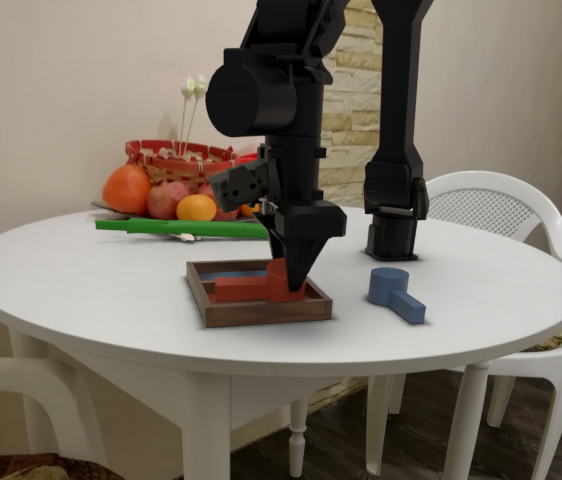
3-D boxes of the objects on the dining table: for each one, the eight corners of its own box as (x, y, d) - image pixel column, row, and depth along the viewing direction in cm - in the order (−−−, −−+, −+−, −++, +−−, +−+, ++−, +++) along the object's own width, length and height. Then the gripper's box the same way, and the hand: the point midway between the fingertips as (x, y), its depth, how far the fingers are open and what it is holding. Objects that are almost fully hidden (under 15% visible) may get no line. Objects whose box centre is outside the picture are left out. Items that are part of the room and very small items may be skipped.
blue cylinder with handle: (362, 295, 68) (364, 267, 67) (395, 293, 69) (398, 266, 68) (398, 325, 60) (402, 294, 58) (436, 322, 61) (441, 292, 59)
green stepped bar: (274, 240, 97) (97, 234, 90) (275, 221, 95) (95, 213, 88) (280, 247, 93) (94, 241, 85) (281, 228, 91) (93, 220, 84)
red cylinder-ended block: (299, 282, 65) (302, 257, 63) (307, 305, 62) (312, 278, 60) (213, 284, 63) (213, 258, 61) (217, 308, 60) (218, 281, 57)
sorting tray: (287, 273, 76) (288, 257, 75) (331, 319, 60) (333, 300, 59) (186, 277, 72) (186, 261, 71) (205, 327, 57) (205, 307, 56)
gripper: (201, 127, 61) (205, 264, 68) (231, 140, 45) (232, 316, 52) (296, 130, 64) (290, 261, 71) (356, 142, 48) (341, 310, 55)
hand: (287, 283), depth 62 cm, fingers closed on red cylinder-ended block, 5 cm apart
